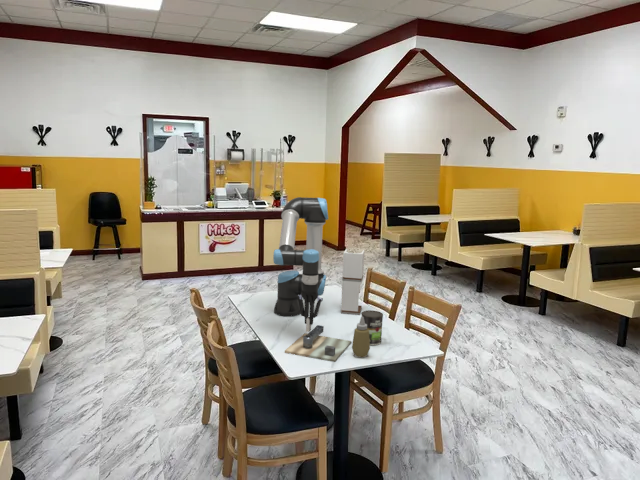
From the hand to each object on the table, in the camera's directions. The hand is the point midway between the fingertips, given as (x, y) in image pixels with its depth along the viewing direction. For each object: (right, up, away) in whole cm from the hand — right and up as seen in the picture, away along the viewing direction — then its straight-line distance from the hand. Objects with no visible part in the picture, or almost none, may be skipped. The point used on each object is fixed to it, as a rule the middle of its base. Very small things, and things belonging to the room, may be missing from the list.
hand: (308, 330), depth 237 cm
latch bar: (+2, -4, -3) cm, 6 cm away
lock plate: (+5, -7, -7) cm, 11 cm away
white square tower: (+23, +2, +47) cm, 53 cm away
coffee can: (+30, -6, +3) cm, 31 cm away
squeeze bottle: (+24, -9, -14) cm, 29 cm away
